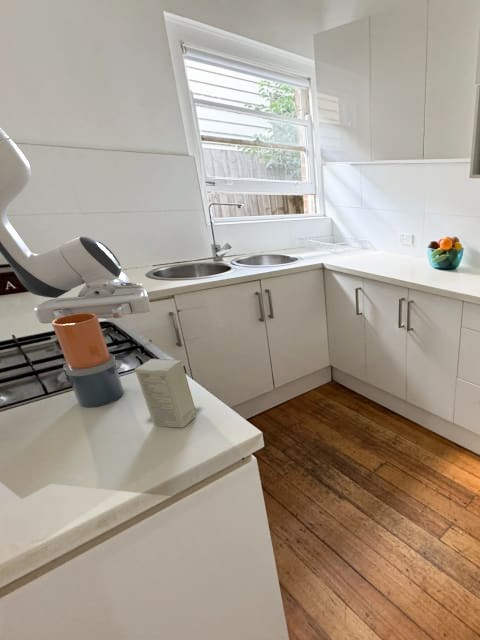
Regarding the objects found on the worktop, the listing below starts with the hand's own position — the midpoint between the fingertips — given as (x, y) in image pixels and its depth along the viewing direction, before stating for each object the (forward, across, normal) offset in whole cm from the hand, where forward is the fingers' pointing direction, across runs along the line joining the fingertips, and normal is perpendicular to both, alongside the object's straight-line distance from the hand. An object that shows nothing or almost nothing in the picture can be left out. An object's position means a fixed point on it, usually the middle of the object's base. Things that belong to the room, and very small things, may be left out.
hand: (89, 317), depth 80 cm
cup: (+9, 0, +6) cm, 11 cm away
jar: (+9, 0, +15) cm, 17 cm away
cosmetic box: (+24, +14, +15) cm, 32 cm away
